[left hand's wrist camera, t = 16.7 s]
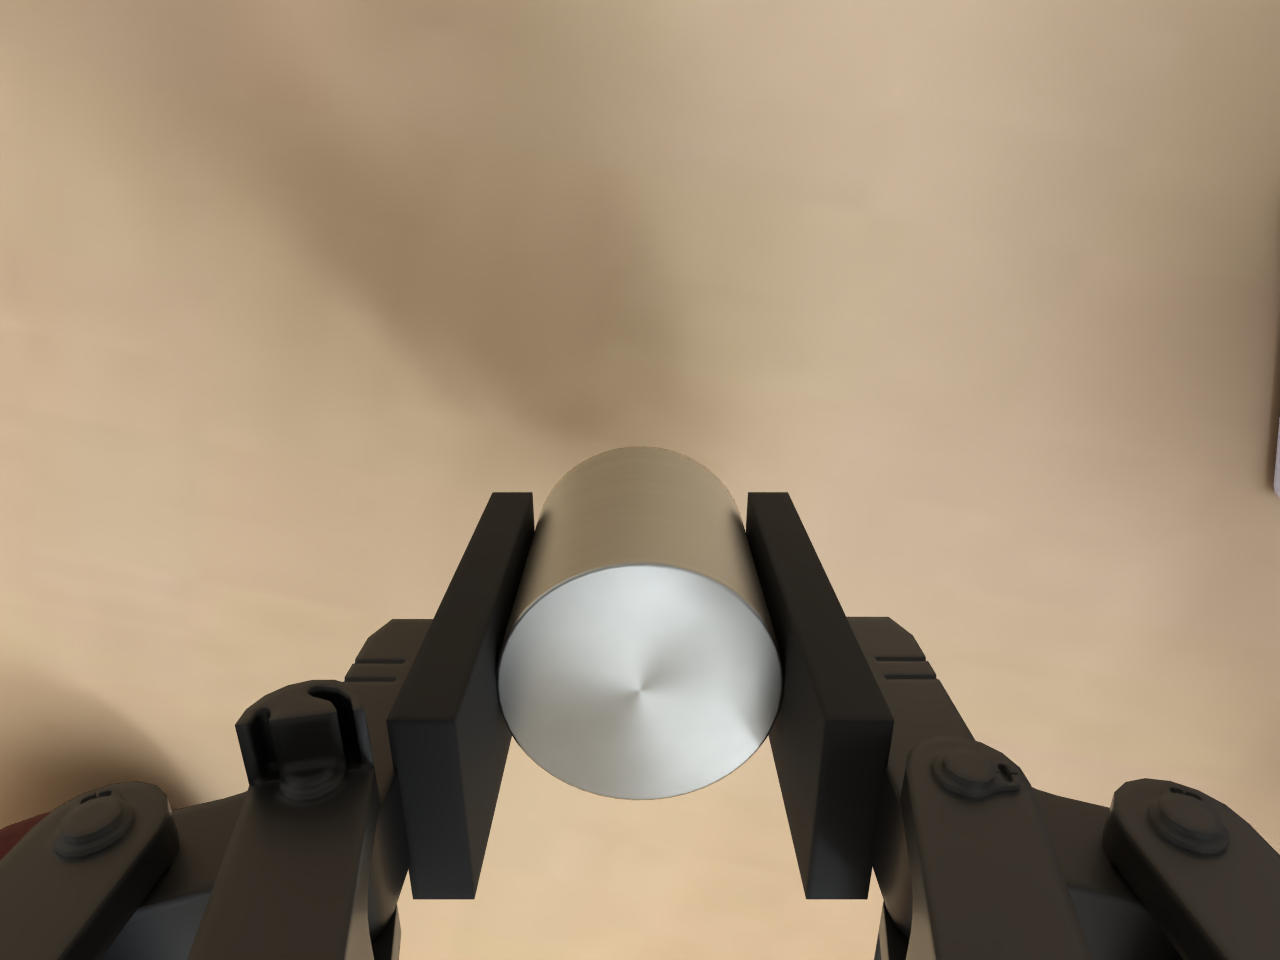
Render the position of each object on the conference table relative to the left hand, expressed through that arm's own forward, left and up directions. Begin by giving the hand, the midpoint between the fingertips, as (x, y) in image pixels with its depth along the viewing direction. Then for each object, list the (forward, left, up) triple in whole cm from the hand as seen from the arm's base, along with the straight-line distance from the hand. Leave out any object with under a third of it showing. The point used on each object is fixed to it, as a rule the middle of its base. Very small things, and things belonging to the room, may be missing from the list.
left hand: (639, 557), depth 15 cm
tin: (0, 0, 0) cm, 0 cm away
